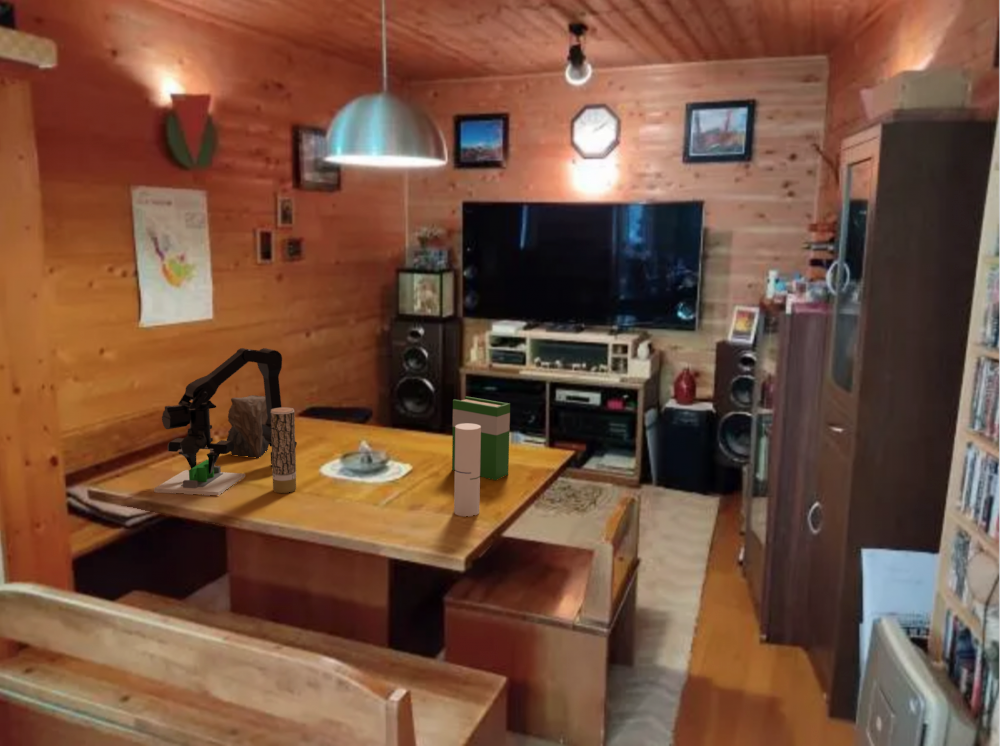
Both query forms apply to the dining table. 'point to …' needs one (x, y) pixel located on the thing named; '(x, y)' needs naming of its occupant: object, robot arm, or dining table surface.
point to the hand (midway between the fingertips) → (202, 472)
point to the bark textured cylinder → (283, 449)
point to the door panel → (200, 483)
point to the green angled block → (200, 472)
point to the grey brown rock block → (248, 426)
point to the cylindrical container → (467, 469)
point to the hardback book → (486, 433)
